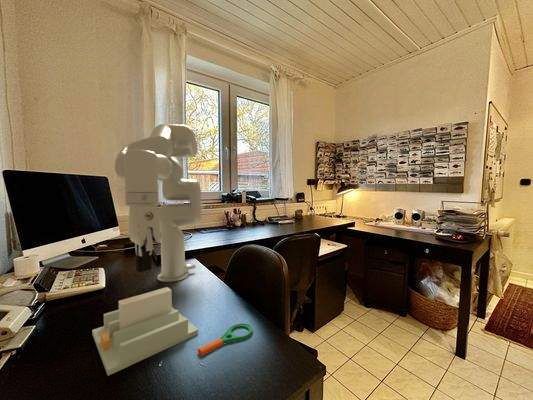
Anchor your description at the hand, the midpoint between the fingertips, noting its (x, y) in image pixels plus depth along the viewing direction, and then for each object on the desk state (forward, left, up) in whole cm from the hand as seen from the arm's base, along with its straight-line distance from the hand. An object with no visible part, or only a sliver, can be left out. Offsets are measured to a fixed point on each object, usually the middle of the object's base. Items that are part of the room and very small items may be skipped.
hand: (143, 270), depth 61 cm
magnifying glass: (-14, +17, -18) cm, 28 cm away
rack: (0, 0, -17) cm, 17 cm away
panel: (-1, 0, -16) cm, 16 cm away
